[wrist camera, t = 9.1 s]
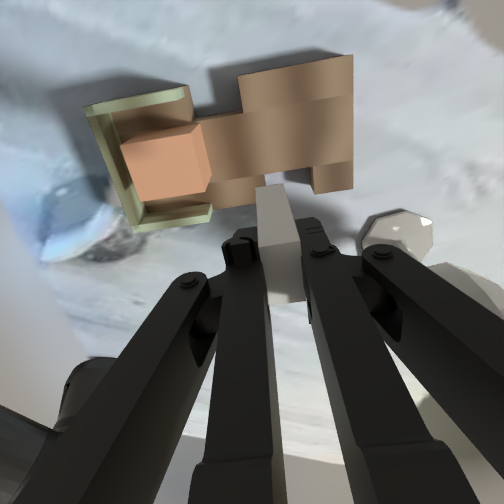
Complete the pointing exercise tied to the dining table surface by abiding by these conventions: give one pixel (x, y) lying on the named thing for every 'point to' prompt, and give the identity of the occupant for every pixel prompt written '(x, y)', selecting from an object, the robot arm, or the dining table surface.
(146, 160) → the block
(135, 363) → the robot arm
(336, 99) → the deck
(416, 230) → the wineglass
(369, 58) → the dining table surface
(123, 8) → the dining table surface
